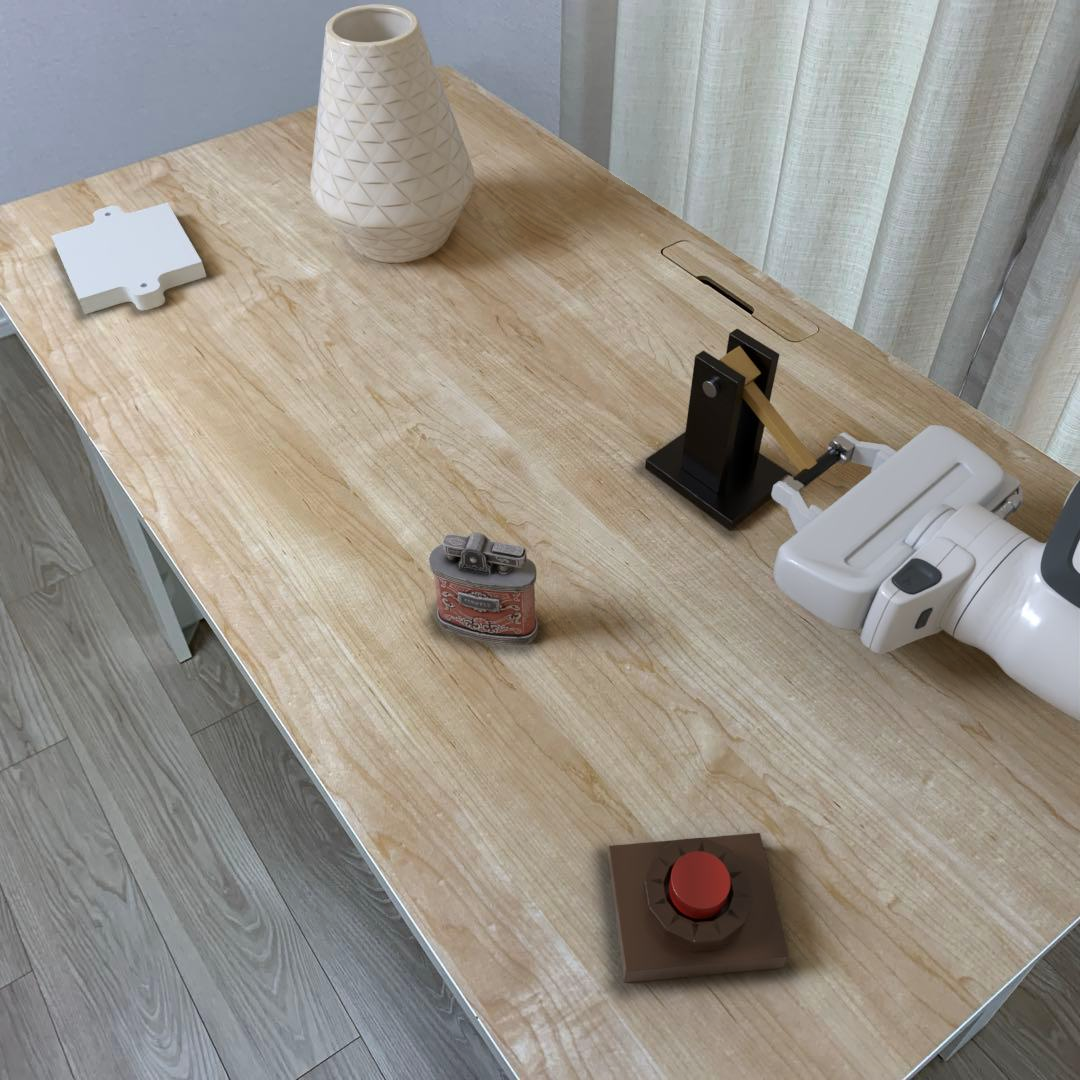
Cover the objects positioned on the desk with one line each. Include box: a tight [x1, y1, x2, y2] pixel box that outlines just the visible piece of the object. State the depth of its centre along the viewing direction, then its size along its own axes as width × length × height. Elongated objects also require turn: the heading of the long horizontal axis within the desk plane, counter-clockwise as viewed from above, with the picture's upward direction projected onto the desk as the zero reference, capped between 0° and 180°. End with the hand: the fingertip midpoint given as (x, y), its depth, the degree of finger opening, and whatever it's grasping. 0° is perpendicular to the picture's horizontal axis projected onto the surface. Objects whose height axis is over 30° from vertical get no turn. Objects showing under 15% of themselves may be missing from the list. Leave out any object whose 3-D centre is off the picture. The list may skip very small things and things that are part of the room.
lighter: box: [428, 532, 539, 645], centre depth 79 cm, size 8×3×10 cm, turn 76°
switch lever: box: [718, 346, 840, 490], centre depth 83 cm, size 12×6×2 cm, turn 42°
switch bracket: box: [644, 328, 793, 532], centre depth 87 cm, size 10×8×14 cm
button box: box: [607, 832, 789, 983], centre depth 66 cm, size 10×8×4 cm
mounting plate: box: [50, 202, 207, 315], centre depth 113 cm, size 18×13×2 cm
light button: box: [669, 851, 731, 919], centre depth 64 cm, size 4×4×2 cm
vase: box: [309, 3, 476, 264], centre depth 108 cm, size 17×17×23 cm
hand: (805, 463), depth 82 cm, fingers closed on switch lever, 5 cm apart
